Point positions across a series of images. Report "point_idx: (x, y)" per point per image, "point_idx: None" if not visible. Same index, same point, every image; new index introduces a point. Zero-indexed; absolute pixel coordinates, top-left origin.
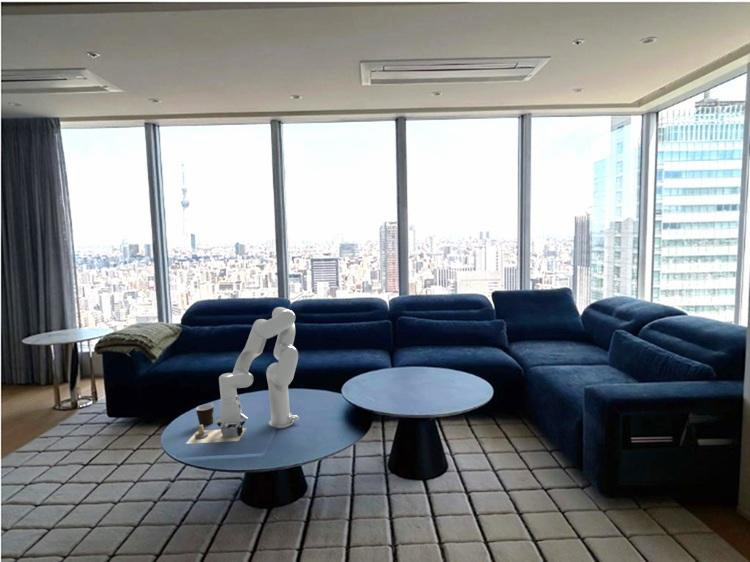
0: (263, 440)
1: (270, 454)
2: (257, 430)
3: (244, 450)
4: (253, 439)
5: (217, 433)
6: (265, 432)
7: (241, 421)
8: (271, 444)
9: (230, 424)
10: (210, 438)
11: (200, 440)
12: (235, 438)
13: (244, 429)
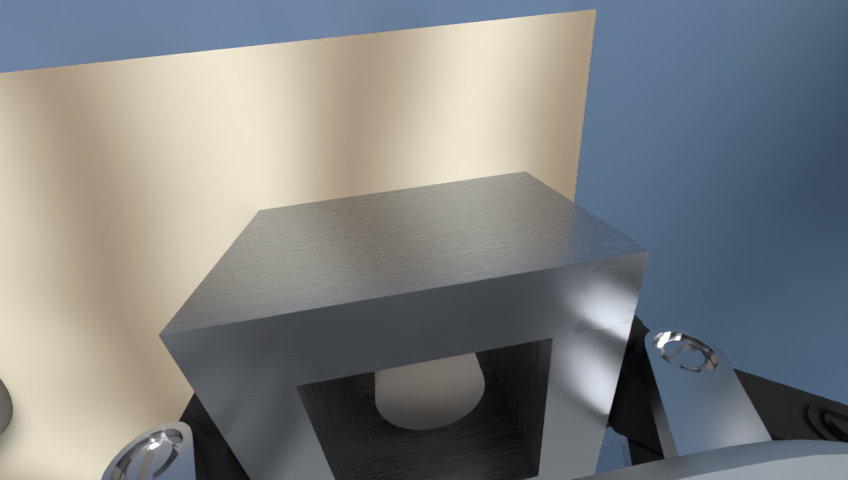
0: (772, 313)
1: None
2: (748, 28)
3: (608, 458)
4: (677, 304)
5: (89, 276)
6: (845, 114)
7: (757, 424)
8: (820, 365)
9: (350, 368)
10: (129, 417)
11: (21, 469)
12: None
13: (559, 88)
